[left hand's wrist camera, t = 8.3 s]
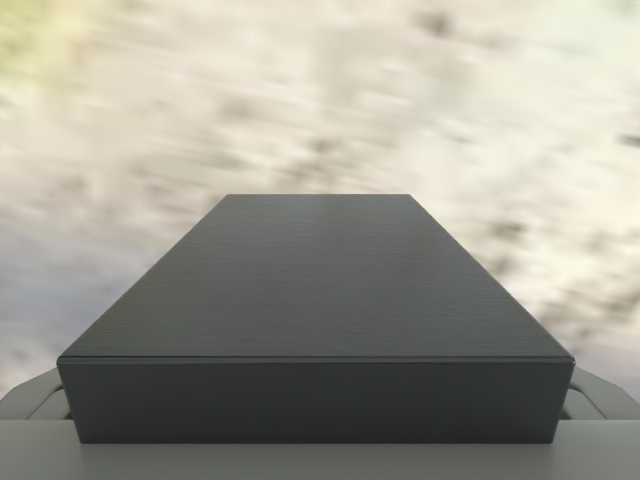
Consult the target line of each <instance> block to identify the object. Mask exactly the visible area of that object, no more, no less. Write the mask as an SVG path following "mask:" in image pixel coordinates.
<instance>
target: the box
mask: <svg viewBox="0 0 640 480" xmlns="http://www.w3.org/2000/svg"><path fill="white" fill-rule="evenodd" d="M56 365H57V368H58V371H59V375H60V378H61V381H62V385H63V388H64V391H65V395H66V398H67V401H68V405H69V408H70V411H71V415H72V418H73V421H74V424H75V428H76V431H77V434H78V438H79V441H80V443H82V444H550V443H553V440H554V436H555V433H556V429H557V426H558V423H559V419H560V416H561V412H562V409H563V405H564V402H565V398H566V395H567V392H568V388H569V385H570V381H571V378H572V374H573V371H574V368H575V359H574V357H573V356H572V355H571V354H570V353H569V352H568V351H567V350H566V349H565V348H564V347H563V346H562V345H561V344H560V343H559V342H558V341H557V340H556V339H555V338H554V337H553V336H552V335H551V334H550V333H549V332H548V331H547V330H546V329H545V328H544V327H543V326H542V325H541V324H540V323H539V322H538V321H537V320H536V319H535V318H534V317H533V316H532V315H531V314H530V313H529V312H528V311H527V310H526V309H525V308H524V307H523V306H522V305H521V304H520V303H519V302H518V301H517V300H516V299H515V298H514V297H513V296H512V295H511V294H510V293H509V292H508V291H507V290H506V289H505V288H504V287H503V286H502V285H500V284H499V283H498V282H497V281H496V280H495V279H494V278H493V277H492V276H491V275H490V274H489V273H488V272H487V271H486V270H485V269H484V268H483V267H482V266H481V265H480V264H479V263H478V262H477V261H476V260H475V259H474V258H473V257H472V256H471V255H470V254H469V253H468V252H467V251H466V250H465V249H464V248H463V247H462V246H461V245H460V244H459V243H458V242H457V241H456V240H455V239H454V238H453V237H452V236H451V235H450V234H449V233H448V232H447V231H446V230H445V229H444V228H443V227H442V226H441V225H440V224H439V223H438V222H437V221H436V220H435V219H434V218H433V217H432V216H431V215H430V214H429V213H428V212H427V211H426V210H425V209H424V208H423V207H422V206H421V205H420V204H419V203H418V202H417V201H416V200H415V199H414V198H413V197H412V196H411V195H409V194H228V195H226V196H225V197H224V198H223V199H222V200H221V201H220V202H219V203H218V204H217V205H216V206H215V207H214V208H213V209H212V210H211V211H210V212H209V213H208V214H207V215H206V216H205V217H204V218H203V219H201V220H200V221H199V222H198V223H197V224H196V225H195V226H194V227H193V228H192V229H191V230H190V231H189V232H188V233H187V234H186V235H185V236H184V237H183V238H182V239H181V240H180V241H179V242H178V243H177V244H175V245H174V246H173V247H172V248H171V249H170V250H169V251H168V252H167V253H166V254H165V255H164V256H163V257H162V258H161V259H160V260H159V261H158V262H157V263H156V264H155V265H154V266H153V267H152V268H151V269H149V270H148V271H147V272H146V273H145V274H144V275H143V276H142V277H141V278H140V279H139V280H138V281H137V282H136V283H135V284H134V285H133V286H132V287H131V288H130V289H129V290H128V291H127V292H126V293H125V294H124V295H122V296H121V297H120V298H119V299H118V300H117V301H116V302H115V303H114V304H113V305H112V306H111V307H110V308H109V309H108V310H107V311H106V312H105V313H104V314H103V315H102V316H101V317H100V318H99V319H98V320H96V321H95V322H94V323H93V324H92V325H91V326H90V327H89V328H88V329H87V330H86V331H85V332H84V333H83V334H82V335H81V336H80V337H79V338H78V339H77V340H76V341H75V342H74V343H73V344H72V345H70V346H69V347H68V348H67V349H66V350H65V351H64V352H63V353H62V354H61V355H60V356H59V357H58V359H57V363H56Z"/></svg>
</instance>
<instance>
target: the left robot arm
mask: <svg viewBox="0 0 640 480" xmlns="http://www.w3.org/2000/svg"><path fill="white" fill-rule="evenodd" d="M0 480H640V405H639V404H638V403H637V402H636V401H635V400H634V399H633V398H632V397H631V396H630V395H629V394H628V393H626V392H625V391H624V390H623V389H622V388H621V387H618V386H616V385H614V384H612V383H610V382H608V381H606V380H604V379H602V378H600V377H597V376H595V375H593V374H591V373H589V372H587V371H585V370H583V369H581V368H579V367H576V366H575V368H574V371H573V374H572V378H571V381H570V385H569V388H568V392H567V395H566V398H565V402H564V405H563V409H562V412H561V416H560V419H559V423H558V426H557V429H556V433H555V436H554V440H553V443H550V444H82V443H80V441H79V438H78V434H77V431H76V428H75V424H74V421H73V418H72V415H71V411H70V408H69V405H68V401H67V398H66V395H65V391H64V388H63V385H62V381H61V378H60V375H59V371H58V368H54V369H52V370H50V371H48V372H46V373H44V374H42V375H40V376H37V377H35V378H33V379H31V380H29V381H27V382H25V383H23V384H20V385H18V386H16V387H14V388H13V389H12V390H11V391H10V392H9V393H8V394H6V395H5V396H4V397H3V398H2V399H1V400H0Z"/></svg>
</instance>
